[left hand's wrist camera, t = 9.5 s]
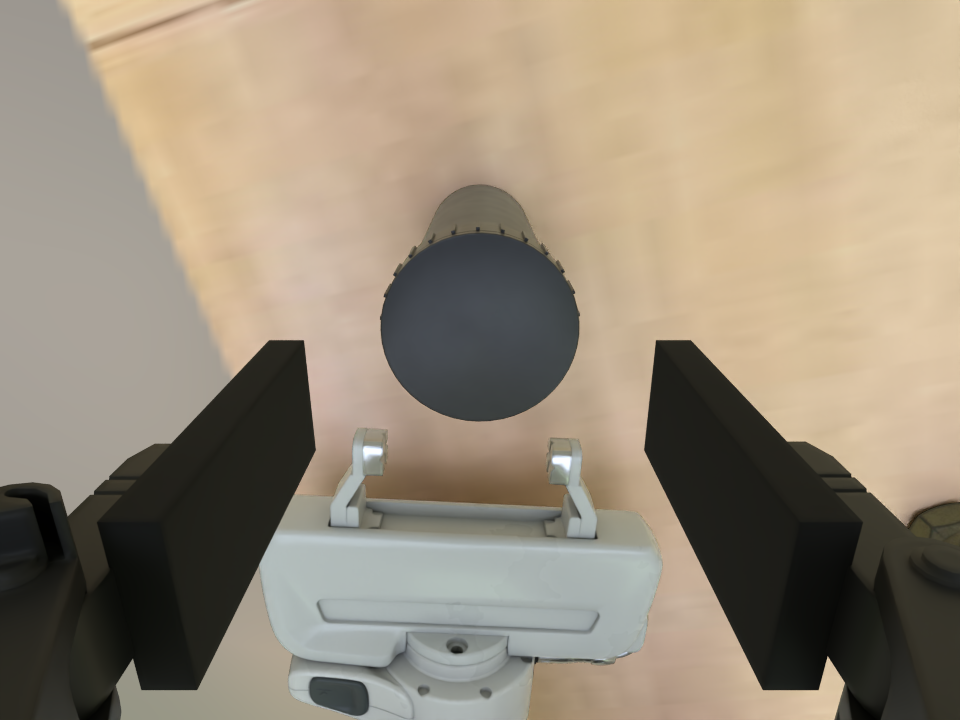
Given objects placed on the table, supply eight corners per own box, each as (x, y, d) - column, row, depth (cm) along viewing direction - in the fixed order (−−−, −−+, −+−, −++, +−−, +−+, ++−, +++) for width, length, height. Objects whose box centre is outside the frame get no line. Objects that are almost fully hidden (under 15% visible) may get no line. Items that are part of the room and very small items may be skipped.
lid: (519, 183, 18) (523, 189, 17) (604, 349, 20) (615, 370, 19) (350, 278, 19) (338, 293, 18) (446, 428, 21) (443, 454, 20)
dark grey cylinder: (500, 165, 32) (517, 206, 17) (545, 254, 34) (596, 360, 19) (412, 215, 33) (358, 294, 18) (461, 299, 34) (447, 434, 20)
